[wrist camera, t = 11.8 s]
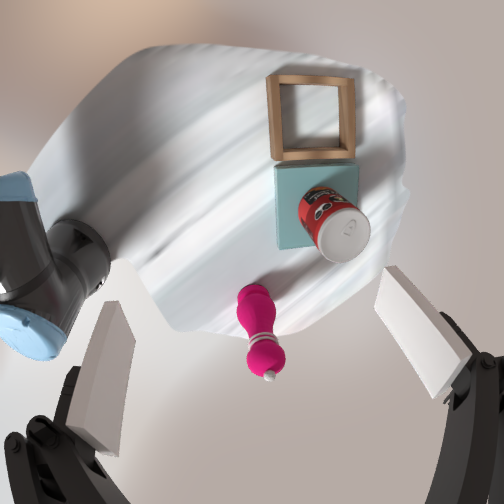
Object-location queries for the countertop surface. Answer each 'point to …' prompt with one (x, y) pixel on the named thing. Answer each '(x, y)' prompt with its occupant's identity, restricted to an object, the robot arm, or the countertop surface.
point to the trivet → (297, 185)
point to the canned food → (333, 224)
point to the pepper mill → (260, 331)
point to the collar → (345, 118)
